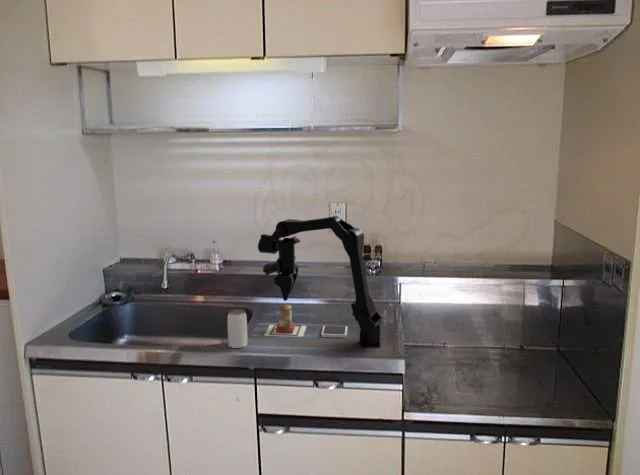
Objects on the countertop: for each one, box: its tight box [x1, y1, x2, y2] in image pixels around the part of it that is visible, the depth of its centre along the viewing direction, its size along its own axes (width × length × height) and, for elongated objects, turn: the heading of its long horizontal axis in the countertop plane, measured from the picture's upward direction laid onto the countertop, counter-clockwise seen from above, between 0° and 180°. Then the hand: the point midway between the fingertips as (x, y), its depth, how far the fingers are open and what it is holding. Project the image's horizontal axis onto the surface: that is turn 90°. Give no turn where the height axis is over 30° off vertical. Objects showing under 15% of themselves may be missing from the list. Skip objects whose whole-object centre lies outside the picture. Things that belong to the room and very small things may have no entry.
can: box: [227, 308, 248, 349], centre depth 174 cm, size 6×6×12 cm
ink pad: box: [320, 325, 349, 339], centre depth 187 cm, size 9×9×1 cm
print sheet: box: [263, 324, 307, 338], centre depth 189 cm, size 14×11×1 cm
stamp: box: [276, 303, 296, 334], centre depth 188 cm, size 6×6×9 cm
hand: (287, 296), depth 187 cm, fingers open, 9 cm apart
